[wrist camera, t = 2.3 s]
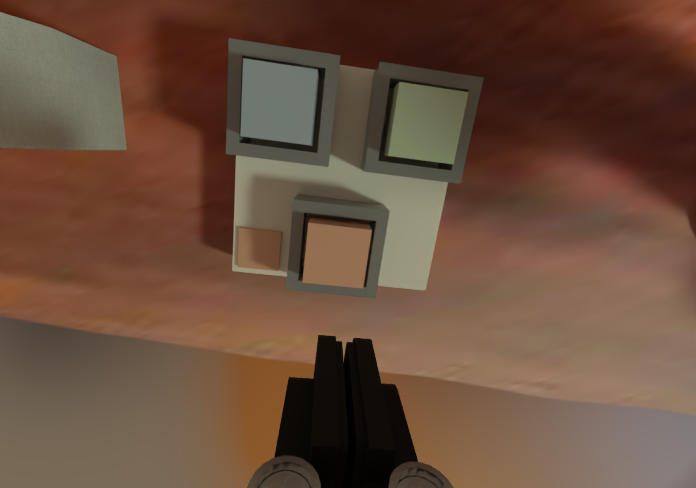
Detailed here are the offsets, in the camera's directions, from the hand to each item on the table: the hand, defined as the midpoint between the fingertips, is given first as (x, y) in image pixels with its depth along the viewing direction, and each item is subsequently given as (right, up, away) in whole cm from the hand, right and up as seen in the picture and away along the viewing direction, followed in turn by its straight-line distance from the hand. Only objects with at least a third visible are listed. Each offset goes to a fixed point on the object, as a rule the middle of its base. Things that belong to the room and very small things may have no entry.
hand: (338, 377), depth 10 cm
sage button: (+5, +12, +12) cm, 18 cm away
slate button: (-4, +13, +11) cm, 18 cm away
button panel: (0, +10, +17) cm, 20 cm away
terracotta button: (-1, +4, +14) cm, 14 cm away
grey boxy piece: (-19, +15, +15) cm, 29 cm away
